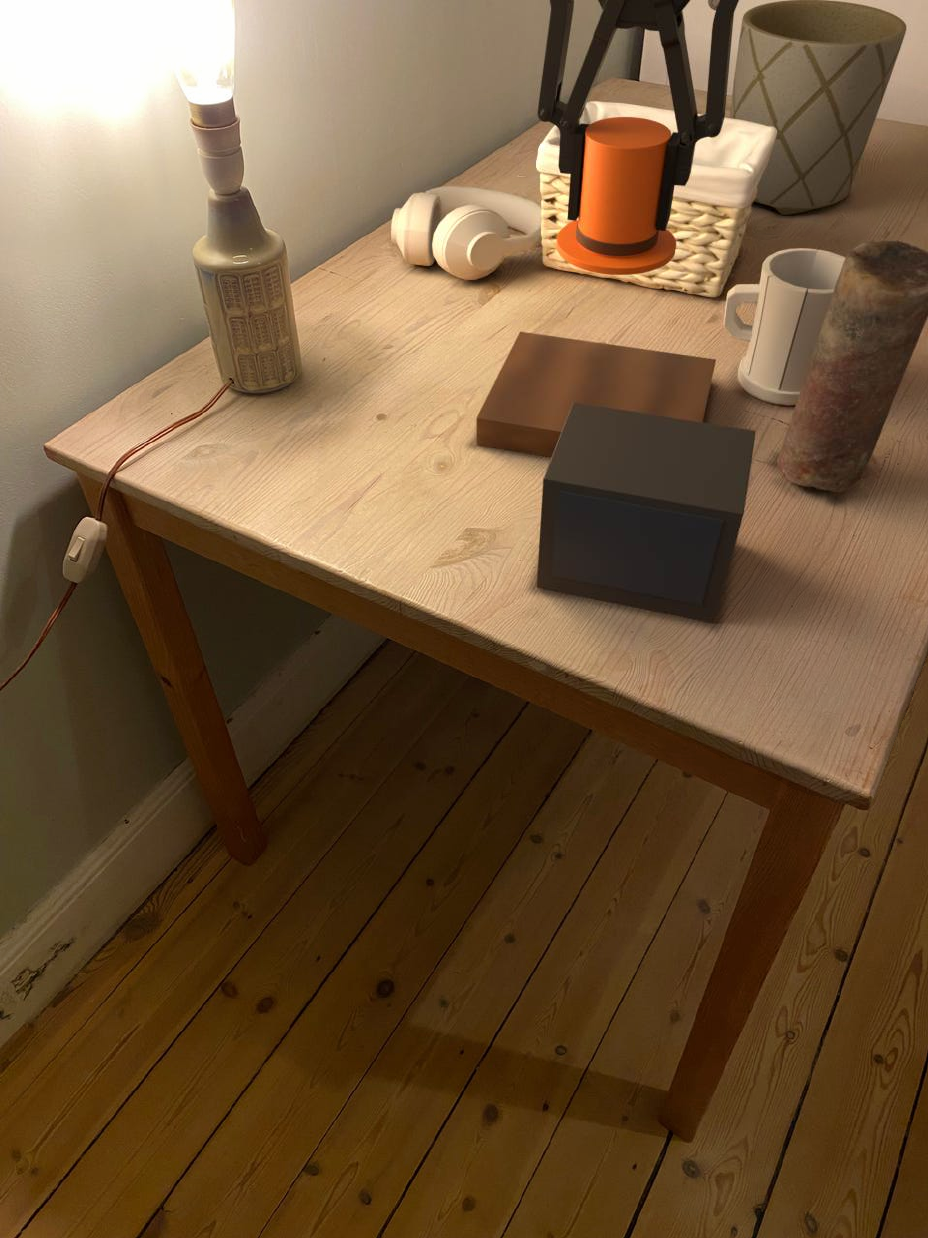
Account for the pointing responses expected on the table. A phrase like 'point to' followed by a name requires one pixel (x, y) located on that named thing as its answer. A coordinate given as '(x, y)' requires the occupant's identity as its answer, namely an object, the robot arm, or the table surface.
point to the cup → (783, 321)
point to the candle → (857, 365)
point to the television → (643, 510)
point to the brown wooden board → (584, 388)
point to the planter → (813, 93)
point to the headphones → (465, 229)
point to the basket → (675, 200)
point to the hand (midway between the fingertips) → (618, 217)
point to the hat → (620, 200)
